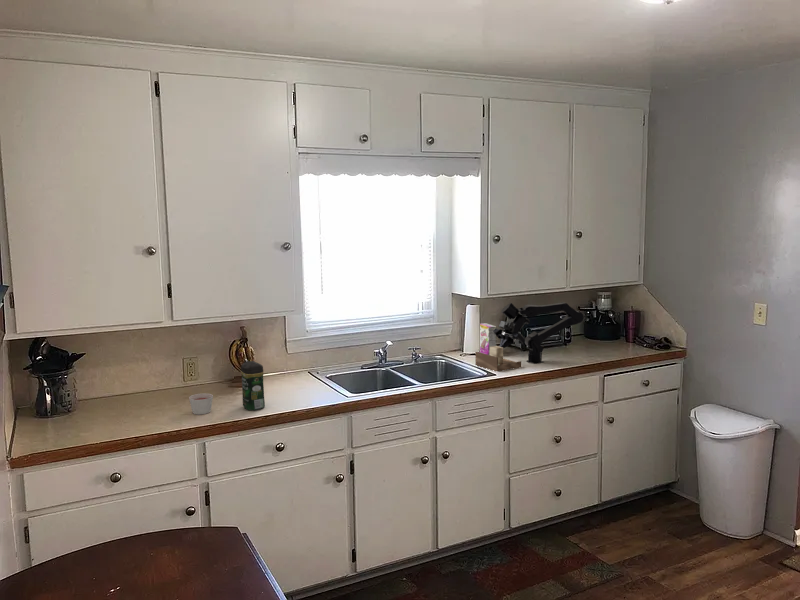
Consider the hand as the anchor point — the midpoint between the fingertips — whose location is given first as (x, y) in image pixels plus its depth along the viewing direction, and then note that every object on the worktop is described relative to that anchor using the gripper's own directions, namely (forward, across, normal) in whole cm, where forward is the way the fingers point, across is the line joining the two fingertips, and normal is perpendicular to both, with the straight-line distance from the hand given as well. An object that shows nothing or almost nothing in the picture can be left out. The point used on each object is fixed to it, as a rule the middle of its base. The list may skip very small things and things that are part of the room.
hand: (499, 349), depth 328 cm
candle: (+111, -7, -97) cm, 148 cm away
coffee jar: (+98, -1, -84) cm, 129 cm away
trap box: (+7, 0, +6) cm, 9 cm away
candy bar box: (-2, -24, +15) cm, 28 cm away
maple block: (+6, 0, +3) cm, 7 cm away
